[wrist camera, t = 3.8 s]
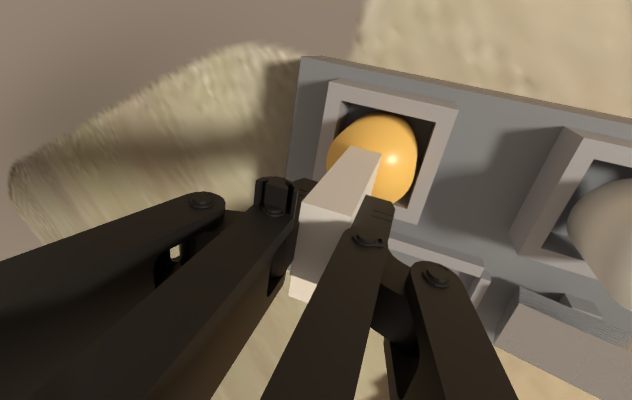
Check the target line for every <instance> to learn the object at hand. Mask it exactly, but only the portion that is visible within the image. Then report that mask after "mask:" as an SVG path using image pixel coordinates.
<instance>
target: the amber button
mask: <svg viewBox="0 0 632 400" xmlns="http://www.w3.org/2000/svg"><path fill="white" fill-rule="evenodd" d="M350 146H354V147H358V148H362V149H366V150H370V151H373V152H377V153H381V154H382V156H381V160H380V163H379V167H378V171H377V174H376V178H375V182H374V185H373V189H372V193H371V196H373V197H377V198H380V199H383V200H387V201H390V202H392V204H393V203H395V202H396V201H398V200H399V199H400V198H401V197H403V196H404V195H405V193H406V192H407V191H408V189H409V188H410V186H411V184H412V181H413V178H414V174H415V168H416V162H417V156H418V149H419V142H418V137H417V134H416V131H415V129H414V127H413V126H412V125H411V123H410V122H409V121H408V120H407V119H406V118H404V117H403V116H401V115H400V114H397V113H393V112H389V111H384V110H375V111H370V112H368V113H365V114H364V115H362V116H360V117H359V118H358V119H356V120H355V121H354V122H353V123H352V124H351V125H349V126H348V127H347V128H346V129H345V130H344V131H343V132H341V133H340V134H339V135H338V136H337V137H336V138H335V140H334V141H333V142H332V144H331V146H330V148H329V151H328V154H327V159H326V169H327V172H328V171H329V170H330V169H331V168H332V166H333V165H334V164H335V163H336V162H337V161H338V159H339V158H340V157H341V156H342V155H343V154H344V153H345V151H346V150H347V149H348V148H349V147H350Z"/></svg>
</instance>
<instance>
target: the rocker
mask: <svg viewBox="0 0 632 400" xmlns="http://www.w3.org/2000/svg"><path fill="white" fill-rule="evenodd" d="M493 345H494V346H496V347H498V348H500V349H502V350H504V351H506V352H508V353H510V354H512V355H514V356H516V357H518V358H520V359H522V360H524V361H526V362H528V363H530V364H532V365H534V366H536V367H538V368H540V369H542V370H544V371H546V372H548V373H550V374H552V375H554V376H556V377H558V378H560V379H562V380H564V381H566V382H568V383H570V384H571V385H573V386H575V387H577V388H579V389H581V390H583V391H585V392H587V393H589V394H591V395H593V396H595V397H597V398H599V399H601V400H632V334H631V333H629V332H626V331H624V330H622V329H619V328H617V327H615V326H612V325H610V324H607V323H605V322H603V321H600V320H598V319H596V318H593V317H591V316H589V315H586V314H584V313H582V312H579V311H577V310H575V309H572V308H570V307H568V306H565V305H563V304H561V303H558V302H556V301H553V300H551V299H549V298H546V297H544V296H542V295H539V294H537V293H535V292H532V291H530V290H528V289H525V288H523V287H521V286H519V288H518V289H517V291H516V293H515V294H514V296H513V298H512V299H511V301H510V303H509V304H508V306H507V308H506V309H505V311H504V313H503V314H502V316H501V318H500V319H499V321H498V323H497V324H496V326H495V333H494V344H493Z"/></svg>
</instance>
